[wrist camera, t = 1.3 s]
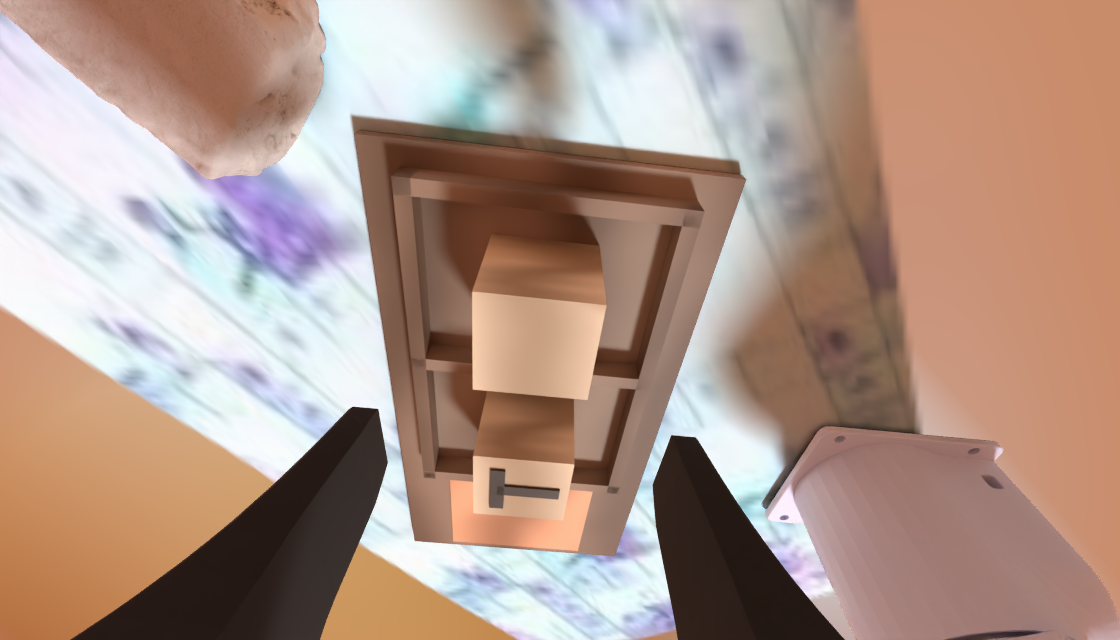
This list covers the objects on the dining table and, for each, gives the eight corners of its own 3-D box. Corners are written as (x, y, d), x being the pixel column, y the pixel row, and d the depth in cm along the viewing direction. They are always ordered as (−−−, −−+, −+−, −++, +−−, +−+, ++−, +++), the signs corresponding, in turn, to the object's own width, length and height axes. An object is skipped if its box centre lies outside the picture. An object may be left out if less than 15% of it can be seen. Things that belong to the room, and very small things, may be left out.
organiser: (741, 174, 16) (756, 189, 14) (613, 548, 30) (615, 572, 29) (360, 130, 15) (341, 141, 14) (416, 533, 29) (410, 556, 28)
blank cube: (599, 245, 17) (606, 305, 13) (584, 331, 19) (587, 400, 16) (491, 233, 17) (472, 291, 13) (489, 322, 19) (472, 389, 16)
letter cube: (573, 392, 21) (574, 466, 18) (564, 447, 23) (563, 522, 20) (488, 384, 21) (472, 457, 18) (487, 441, 23) (473, 515, 20)
